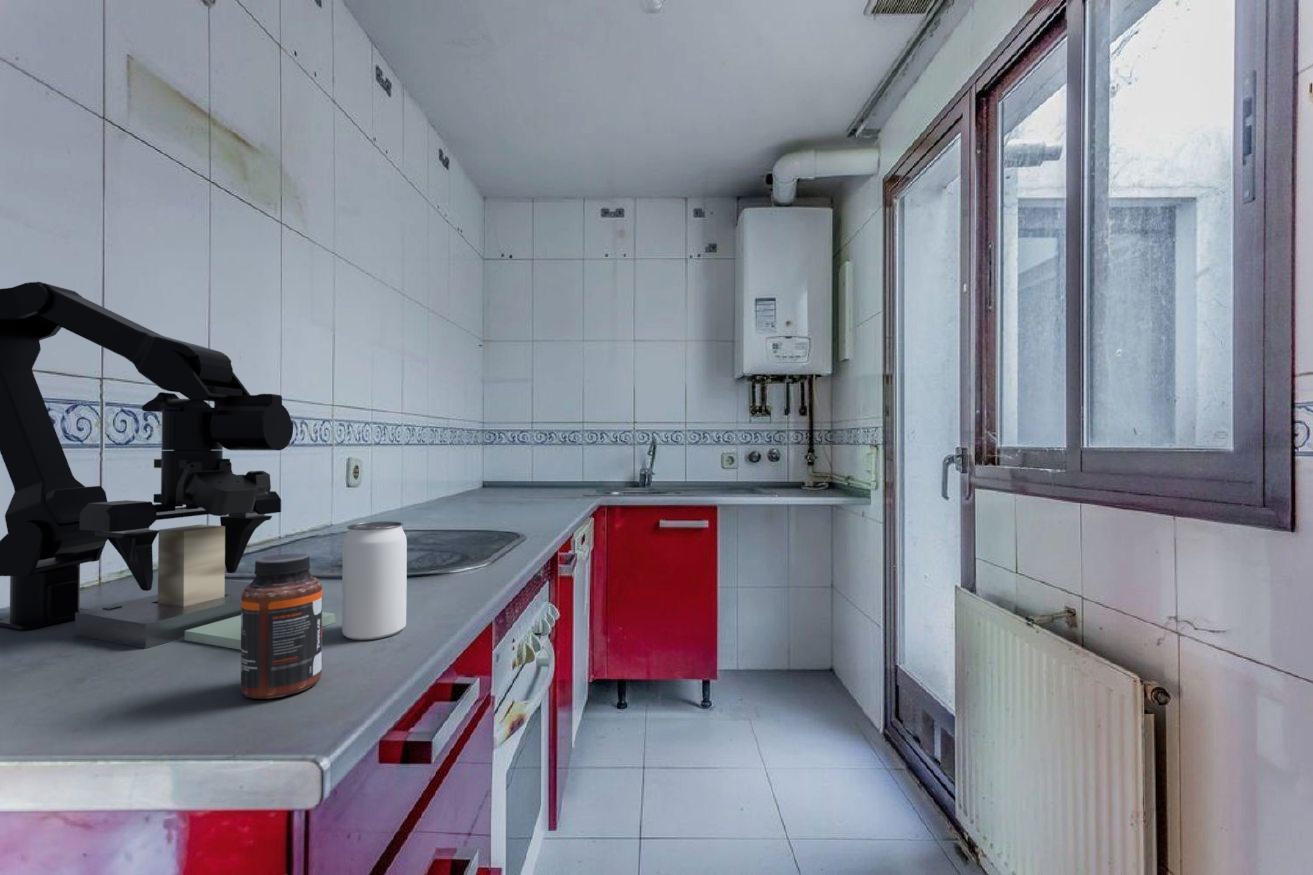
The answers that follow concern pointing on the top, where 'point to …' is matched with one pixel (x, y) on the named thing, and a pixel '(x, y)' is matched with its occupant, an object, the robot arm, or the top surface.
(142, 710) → the top surface
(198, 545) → the peg
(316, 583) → the supplement bottle
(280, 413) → the robot arm
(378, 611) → the can
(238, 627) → the pad
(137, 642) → the plate
